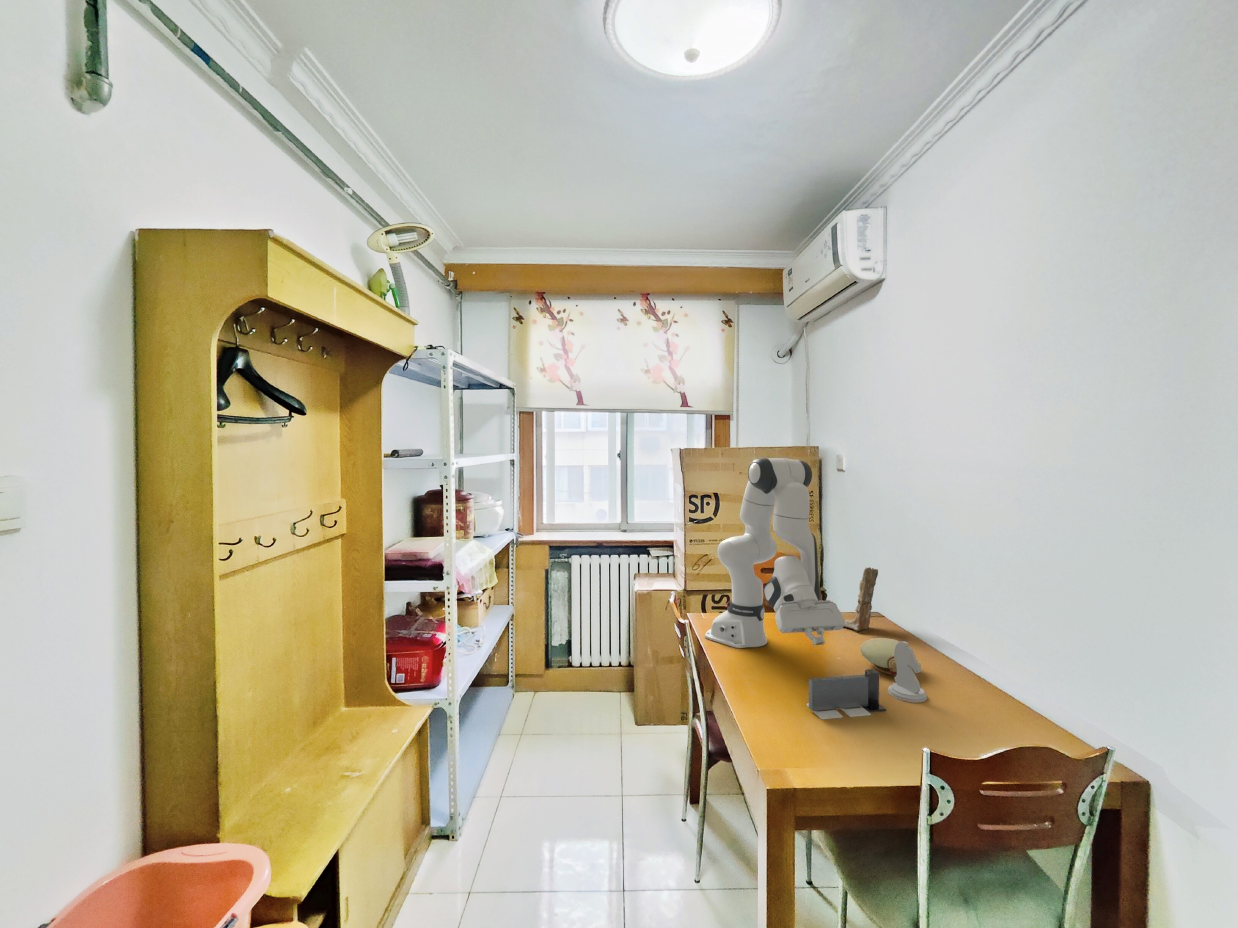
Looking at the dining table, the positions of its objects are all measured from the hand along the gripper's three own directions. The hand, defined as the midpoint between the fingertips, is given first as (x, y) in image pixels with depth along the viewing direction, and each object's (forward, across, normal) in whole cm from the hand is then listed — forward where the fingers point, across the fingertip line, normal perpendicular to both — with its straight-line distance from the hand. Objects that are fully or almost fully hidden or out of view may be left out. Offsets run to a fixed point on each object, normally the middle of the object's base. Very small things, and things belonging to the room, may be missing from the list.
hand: (819, 644), depth 155 cm
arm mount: (+17, -10, -3) cm, 20 cm away
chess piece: (+14, -24, -7) cm, 29 cm away
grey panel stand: (+17, -2, -3) cm, 17 cm away
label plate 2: (+17, -4, -3) cm, 18 cm away
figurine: (-27, -45, -45) cm, 69 cm away
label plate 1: (+17, +4, -3) cm, 18 cm away
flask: (+2, -30, -18) cm, 35 cm away
